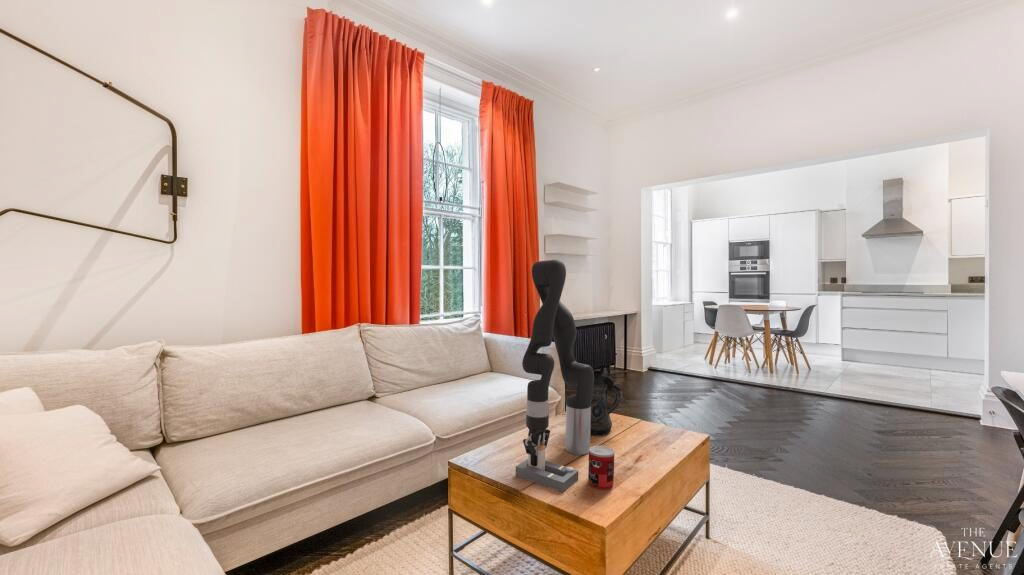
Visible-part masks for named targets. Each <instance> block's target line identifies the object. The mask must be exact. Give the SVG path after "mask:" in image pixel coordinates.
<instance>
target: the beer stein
mask: <svg viewBox="0 0 1024 575" xmlns="http://www.w3.org/2000/svg"><path fill="white" fill-rule="evenodd" d="M593 371H594V387H593V398H592V401H591V429H590V436H592V435H593V437H596V436H597V437H599V436H600V437H602V436H605V435H608V434H610V433H611V429H612V427H613V422H612V419H611V416H610V414H612V413H613V412H614V411H615V410H616V409H617V408H619V406H620V404H621V403H622V400H623V391H622V389H621V387H620V386H619V385H618V384H617V383H615V381H614V379H613V377H611V376H606V375H605V374H604V373H603V372H602V371H598V370H593ZM608 391H610V392H614V393H615V395H616V397H615V399H614V401H613V402H612V404H611V405H610V406H609V398H608V397H609V396H608Z"/></svg>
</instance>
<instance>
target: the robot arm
mask: <svg viewBox="0 0 1024 575" xmlns="http://www.w3.org/2000/svg"><path fill="white" fill-rule="evenodd" d="M566 268H567V267H566V266H565V263H564V262H563V261H562V260H560V259H549V260H539V261H535V262H534V263H533V264H532V266H531V278H532V281H533V284H534V286H535V289H536V292H537V293H538V294H537V295H538V296H539V299H540V301H541V303H542V304H541V306H540V308H539V309H538V311H537V313H536V315H535V316H534V319H533V323H532V328H531V329H532V330H531V334H530V336H531V337H530V341H529V343H528V346H527V347H526V351H525V353H524V354H523V357H522V363H521V364H522V369H523V371H524V372H525V373H528V374H533V375H539V376H541V377H540V379H535V380H530V381H529V382H528V384H527V390H526V397H527V398H526V407H525V409H526V410H525V412H526V413H525V426H526V427H527V429H528V433H527V438H523V440H522V442H523V446H524V449H525V453H526V454H527V455H528V454H530V455H531V465H532V466H537V454H538V448H539V446H540V445H545V446H546V448H547V447H548V442H549V438H550V435H551V434H550V433H551V430H550V429H548V428H549V424H550V420H549V418H550V404H549V387H550V382H551V379H552V374H553V371H554V369H555V358H554V357H553V356H552V355H551V354H549V353H540V352H538V351H539V350H540V349H541V348H547V347H550V346H551V344H552V342H554V345H555V346H554V347H555V348H556V354H557V357H558V361H559V367H560V373H561V376H562V380H563V382H564V384H566V385H568V386H569V387H574V388H576V392H575V394H571V395H569V396H567V397H566V401H565V402H566V407H565V409H566V410H565V448H564V449H565V451H566V452H567V453H569V454H571V455H578V456H583V455H587V454H589V448H590V447H591V435H590V429H591V401H592V398H593V387H594V371H595V370H594V368H593V367H592V366H591V365H590V364H585V363H580V362H577V361H576V358H575V355H574V349H573V348H574V345H575V342H576V339H577V335H578V334H577V332H578V330H577V326H576V322H575V320H574V316H573V314H572V313H571V311H570V309H569V308H568V307H567V306H566V305H565V304H564V303H563V302H562V300H561V299H562V298H561V297H562V293H563V291H564V287H565V282H566V280H567V279H566V278H567V269H566ZM534 444H536V445H534ZM533 448H535V451H534V449H533Z"/></svg>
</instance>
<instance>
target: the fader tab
mask: <svg viewBox="0 0 1024 575" xmlns="http://www.w3.org/2000/svg"><path fill="white" fill-rule="evenodd" d="M534 445H536V444H534ZM533 449H534V451H535V448H533ZM546 449H547V447H546V446H545V445H540V446H539V448H538V454H537V466H532V465H531V455H530V454H527V455H528V458H527V459H528V466H532V467H535V468H538V469H541V470H544V471H545V460H546Z"/></svg>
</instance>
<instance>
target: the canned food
mask: <svg viewBox="0 0 1024 575" xmlns="http://www.w3.org/2000/svg"><path fill="white" fill-rule="evenodd" d="M587 466H588V467H587V468H588V470H587V471H588V474H587V475H588V477H587V478H588V479H587V481H588V483H589V485H590V486H591V487H592V488H594V489H597V490H609V489H612V488H613V486H614V478H615V450H614V449H613V448H611V447H609V446H605V445H593V446H590V448H589V453H588V465H587Z"/></svg>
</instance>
